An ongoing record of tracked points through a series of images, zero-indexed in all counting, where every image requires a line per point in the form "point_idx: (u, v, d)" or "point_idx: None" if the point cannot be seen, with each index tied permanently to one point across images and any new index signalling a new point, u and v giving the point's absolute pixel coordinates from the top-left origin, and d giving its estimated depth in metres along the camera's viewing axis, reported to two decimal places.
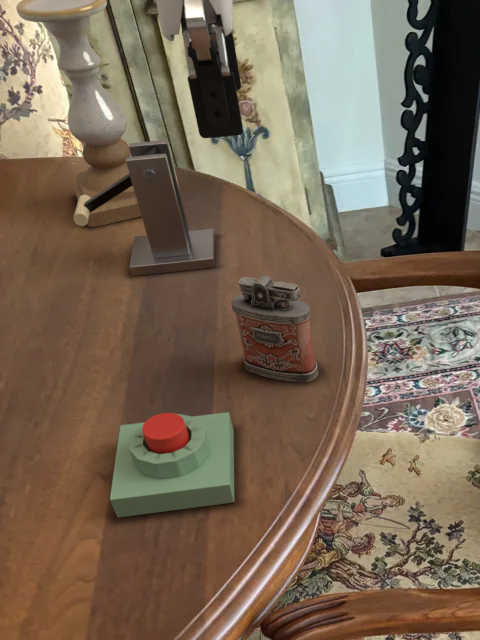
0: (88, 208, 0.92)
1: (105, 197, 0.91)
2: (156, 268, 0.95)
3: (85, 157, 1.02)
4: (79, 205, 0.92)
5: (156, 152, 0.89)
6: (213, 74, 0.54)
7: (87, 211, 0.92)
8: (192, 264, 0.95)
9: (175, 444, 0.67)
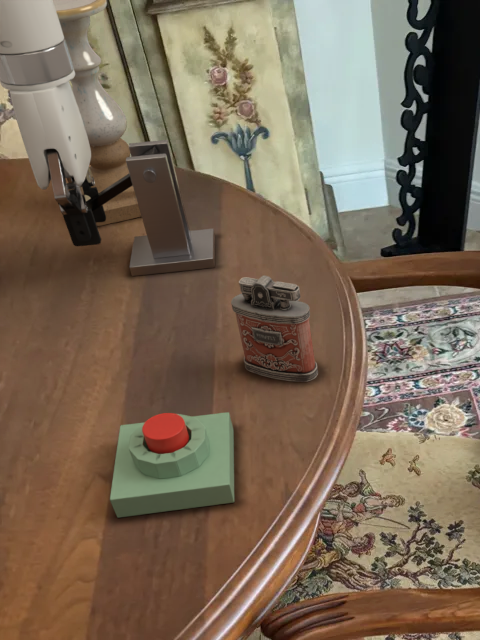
0: (88, 208, 0.92)
1: (105, 197, 0.91)
2: (156, 268, 0.95)
3: None
4: None
5: (156, 152, 0.89)
6: (76, 212, 0.88)
7: None
8: (192, 264, 0.95)
9: (175, 444, 0.67)
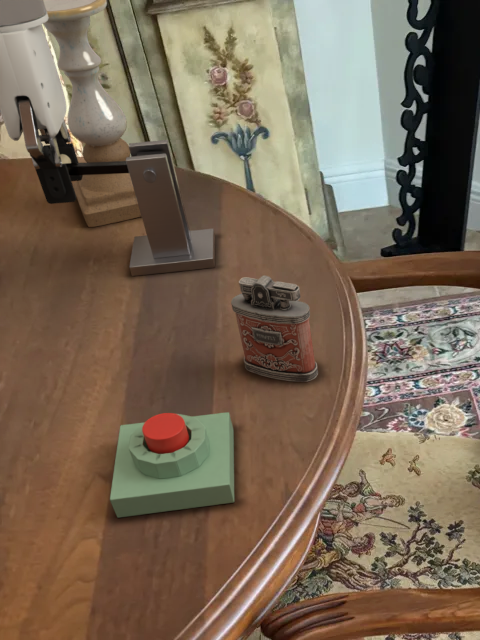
0: (68, 171, 0.89)
1: (91, 170, 0.89)
2: (156, 268, 0.95)
3: (85, 157, 1.02)
4: None
5: None
6: (49, 166, 0.84)
7: None
8: (192, 264, 0.95)
9: (175, 444, 0.67)
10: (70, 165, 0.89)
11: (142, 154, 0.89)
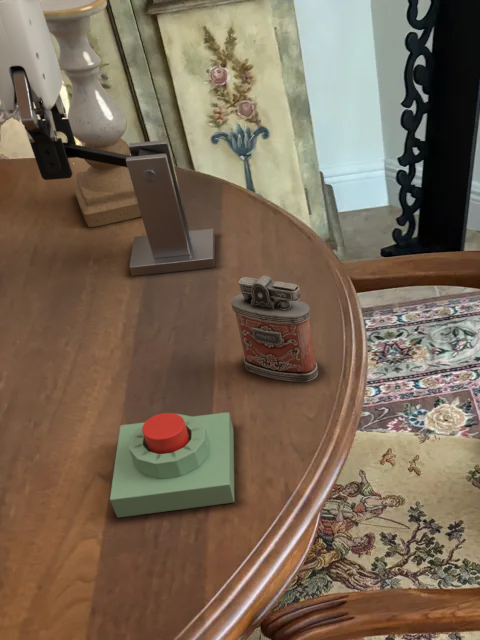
0: None
1: (89, 156, 0.88)
2: (156, 268, 0.95)
3: None
4: None
5: None
6: (45, 140, 0.83)
7: None
8: (192, 264, 0.95)
9: (175, 444, 0.67)
10: (68, 145, 0.87)
11: (145, 153, 0.89)
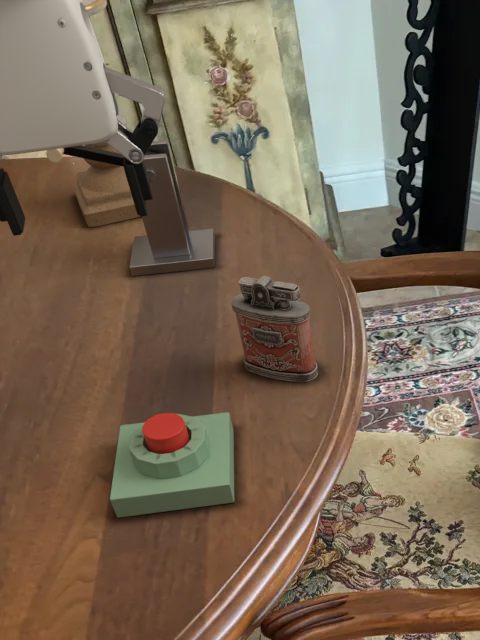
0: (64, 150, 0.87)
1: (89, 155, 0.88)
2: (156, 268, 0.95)
3: None
4: None
5: None
6: None
7: (63, 152, 0.87)
8: (192, 264, 0.95)
9: (175, 444, 0.67)
10: None
11: None
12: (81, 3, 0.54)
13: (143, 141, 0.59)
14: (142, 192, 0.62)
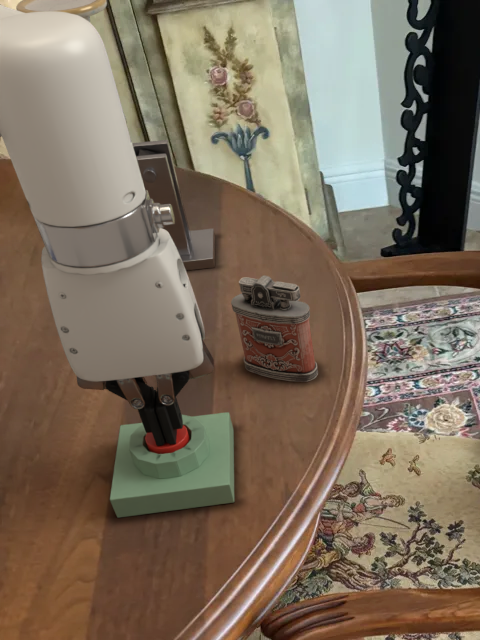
0: None
1: None
2: None
3: None
4: None
5: None
6: None
7: None
8: (192, 264, 0.95)
9: None
10: None
11: (145, 153, 0.89)
12: (178, 258, 0.57)
13: (175, 386, 0.63)
14: (172, 424, 0.66)
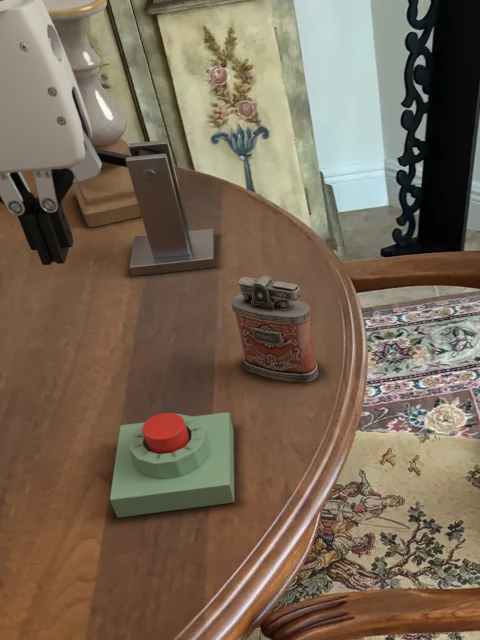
0: None
1: None
2: (156, 268, 0.95)
3: None
4: None
5: None
6: None
7: None
8: (192, 264, 0.95)
9: (175, 444, 0.67)
10: None
11: (145, 153, 0.89)
12: (50, 25, 0.51)
13: (58, 190, 0.58)
14: (59, 240, 0.60)
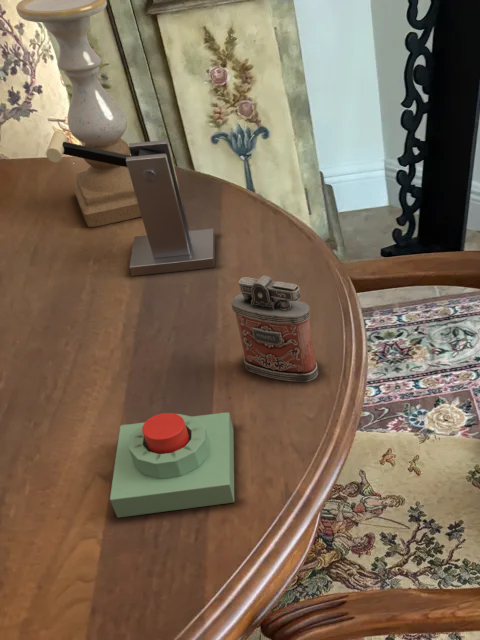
0: (64, 150, 0.87)
1: (89, 155, 0.88)
2: (156, 268, 0.95)
3: None
4: (58, 141, 0.86)
5: None
6: None
7: (63, 152, 0.87)
8: (192, 264, 0.95)
9: (175, 444, 0.67)
10: (68, 145, 0.87)
11: (145, 153, 0.89)
12: None
13: None
14: None
